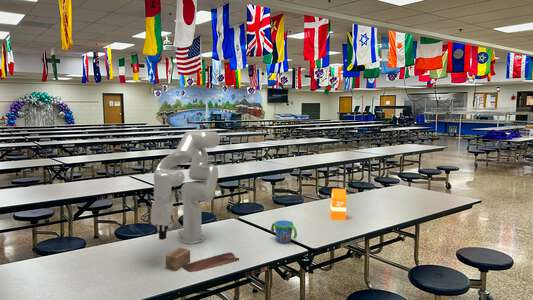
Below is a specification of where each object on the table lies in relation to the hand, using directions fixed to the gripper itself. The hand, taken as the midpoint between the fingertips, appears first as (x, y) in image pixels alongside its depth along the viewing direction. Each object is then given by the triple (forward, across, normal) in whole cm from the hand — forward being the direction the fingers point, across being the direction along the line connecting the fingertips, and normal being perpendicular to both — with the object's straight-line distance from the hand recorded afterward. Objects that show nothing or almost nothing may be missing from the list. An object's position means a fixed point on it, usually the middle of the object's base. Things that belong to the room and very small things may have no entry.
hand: (162, 238), depth 165 cm
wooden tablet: (+12, +20, +10) cm, 25 cm away
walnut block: (+12, +8, +1) cm, 14 cm away
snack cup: (+10, +41, +50) cm, 65 cm away
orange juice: (+9, +59, +104) cm, 119 cm away
